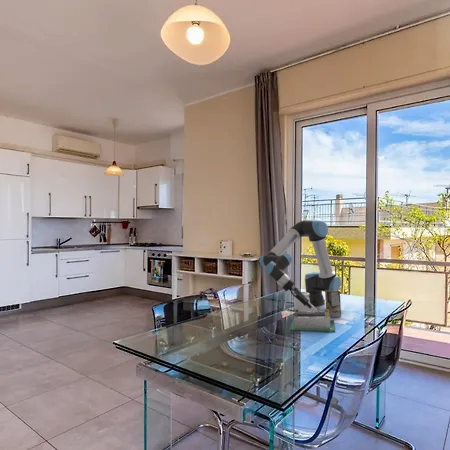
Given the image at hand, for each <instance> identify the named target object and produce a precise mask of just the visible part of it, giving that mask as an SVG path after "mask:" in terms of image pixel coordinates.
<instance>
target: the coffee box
mask: <svg viewBox="0 0 450 450" xmlns="http://www.w3.org/2000/svg"><path fill="white" fill-rule="evenodd" d="M324 300H325V309H329V314H330V318H338V317H340V318H341V317H342V309H341V308H342V307H341V292H340V290H338V291H337V290H334V289H330V290H325V291H324Z"/></svg>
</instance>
